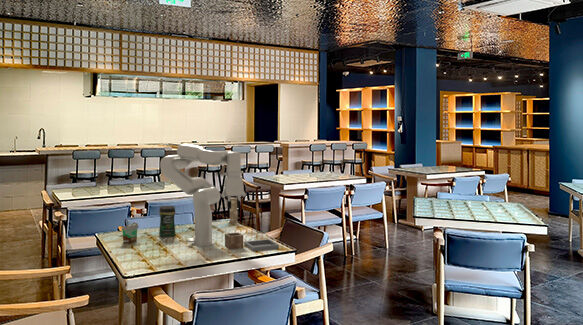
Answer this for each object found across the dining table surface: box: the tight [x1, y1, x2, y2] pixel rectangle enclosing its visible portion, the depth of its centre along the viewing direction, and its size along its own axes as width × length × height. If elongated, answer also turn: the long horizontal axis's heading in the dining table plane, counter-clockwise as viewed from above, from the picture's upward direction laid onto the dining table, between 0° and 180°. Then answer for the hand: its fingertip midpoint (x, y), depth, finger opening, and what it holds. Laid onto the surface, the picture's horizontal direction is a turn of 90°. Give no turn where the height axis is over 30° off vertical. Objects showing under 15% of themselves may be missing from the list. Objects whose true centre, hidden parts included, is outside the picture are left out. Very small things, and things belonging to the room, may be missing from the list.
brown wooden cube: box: [224, 232, 244, 251], centre depth 257 cm, size 8×8×8 cm
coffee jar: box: [158, 205, 176, 238], centre depth 286 cm, size 10×8×19 cm
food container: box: [121, 222, 140, 244], centre depth 272 cm, size 12×6×10 cm, turn 168°
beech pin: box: [229, 197, 238, 226], centre depth 255 cm, size 4×4×14 cm
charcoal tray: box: [243, 238, 280, 252], centre depth 258 cm, size 15×14×3 cm
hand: (233, 207), depth 255 cm, fingers closed on beech pin, 4 cm apart
